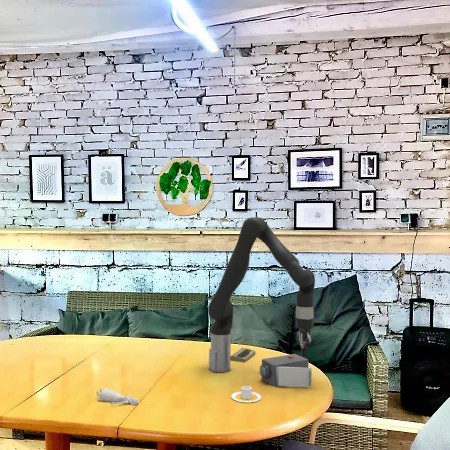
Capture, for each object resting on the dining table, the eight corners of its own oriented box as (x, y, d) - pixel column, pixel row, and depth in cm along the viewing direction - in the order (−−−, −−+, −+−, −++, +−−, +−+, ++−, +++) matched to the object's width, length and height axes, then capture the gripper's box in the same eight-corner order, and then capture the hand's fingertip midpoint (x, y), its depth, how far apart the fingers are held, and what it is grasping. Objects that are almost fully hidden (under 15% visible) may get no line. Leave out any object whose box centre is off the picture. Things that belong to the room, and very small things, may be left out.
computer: (245, 363, 247) (245, 356, 247) (229, 361, 250) (229, 354, 250) (255, 355, 261) (255, 348, 261) (241, 353, 265) (241, 346, 264)
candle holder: (251, 406, 194) (252, 395, 194) (225, 399, 200) (225, 389, 200) (266, 396, 204) (266, 386, 204) (240, 390, 210) (241, 380, 210)
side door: (275, 386, 213) (276, 367, 213) (275, 384, 215) (276, 366, 215) (311, 387, 212) (311, 369, 211) (311, 386, 213) (311, 367, 213)
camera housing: (269, 387, 213) (269, 364, 213) (256, 380, 222) (257, 358, 222) (308, 379, 223) (308, 357, 223) (294, 373, 232) (294, 352, 232)
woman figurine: (107, 382, 205) (146, 391, 199) (106, 393, 205) (145, 402, 199) (90, 392, 194) (130, 402, 188) (89, 403, 195) (129, 413, 188)
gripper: (290, 313, 222) (290, 352, 222) (302, 320, 209) (302, 361, 209) (306, 312, 223) (306, 351, 224) (319, 319, 211) (318, 360, 211)
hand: (304, 356), depth 217 cm, fingers closed
